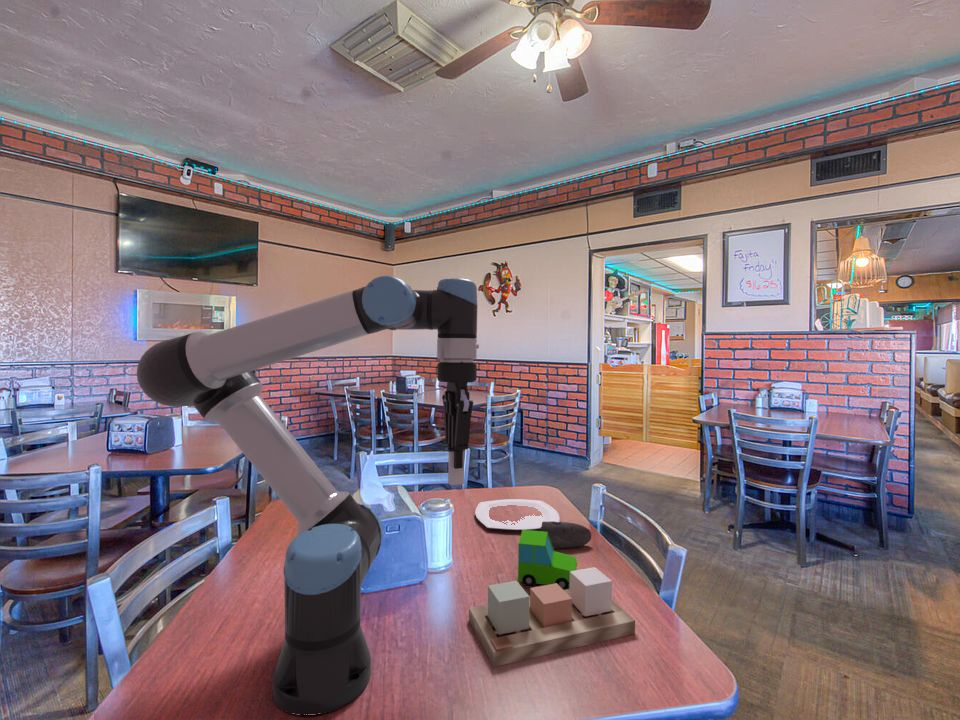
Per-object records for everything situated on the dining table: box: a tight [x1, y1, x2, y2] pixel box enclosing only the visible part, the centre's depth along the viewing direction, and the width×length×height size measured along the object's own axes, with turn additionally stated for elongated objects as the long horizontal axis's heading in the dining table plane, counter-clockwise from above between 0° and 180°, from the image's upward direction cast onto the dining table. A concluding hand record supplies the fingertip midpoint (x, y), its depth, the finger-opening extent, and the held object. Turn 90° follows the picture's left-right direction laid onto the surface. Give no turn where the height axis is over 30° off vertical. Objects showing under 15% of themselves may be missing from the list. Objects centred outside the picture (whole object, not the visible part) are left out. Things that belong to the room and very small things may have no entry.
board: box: [468, 588, 636, 668], centre depth 88 cm, size 29×14×3 cm, turn 109°
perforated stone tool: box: [539, 521, 592, 549], centre depth 124 cm, size 15×5×7 cm, turn 94°
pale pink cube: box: [569, 566, 613, 617], centre depth 91 cm, size 6×6×6 cm
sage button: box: [487, 580, 530, 636], centre depth 85 cm, size 6×6×6 cm
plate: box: [474, 498, 561, 531], centre depth 145 cm, size 27×27×2 cm
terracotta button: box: [529, 583, 572, 628], centre depth 88 cm, size 6×6×6 cm
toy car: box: [517, 530, 578, 590], centre depth 106 cm, size 10×13×10 cm
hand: (456, 483), depth 86 cm, fingers closed
